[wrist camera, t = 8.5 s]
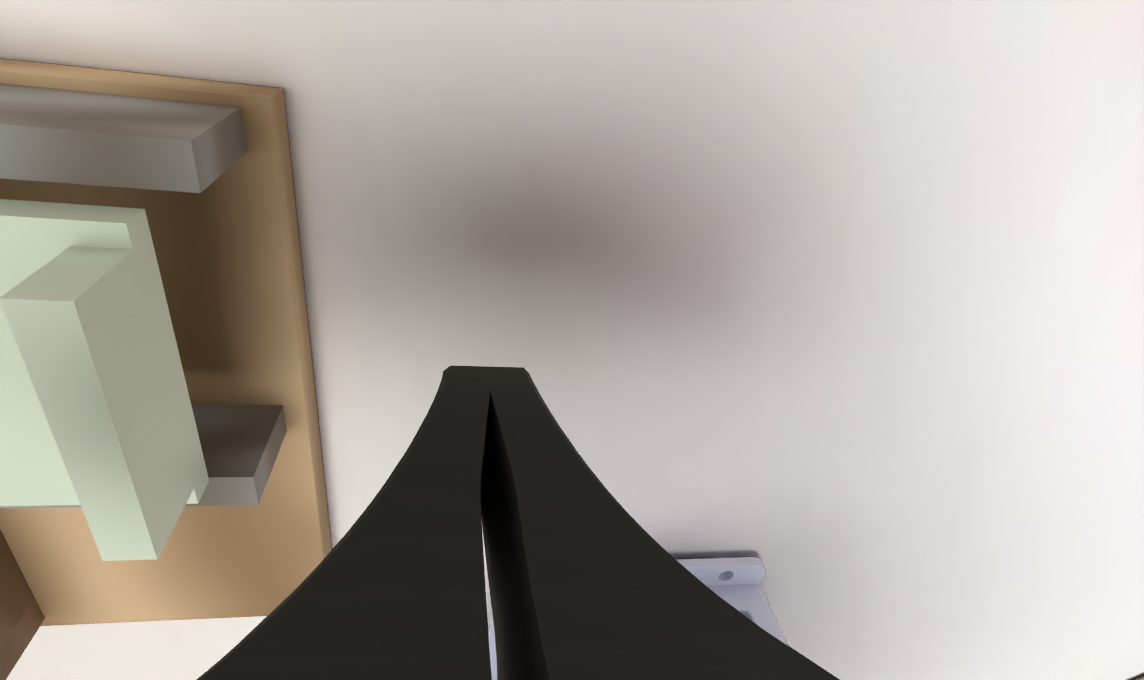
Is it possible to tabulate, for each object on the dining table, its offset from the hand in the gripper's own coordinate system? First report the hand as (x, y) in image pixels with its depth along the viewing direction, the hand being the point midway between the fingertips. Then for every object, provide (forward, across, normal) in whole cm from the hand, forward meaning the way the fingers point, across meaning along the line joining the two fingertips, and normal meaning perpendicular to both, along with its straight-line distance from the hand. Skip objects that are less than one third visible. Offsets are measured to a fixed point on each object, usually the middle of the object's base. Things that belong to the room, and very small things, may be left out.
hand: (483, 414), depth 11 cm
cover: (+1, +8, 0) cm, 8 cm away
